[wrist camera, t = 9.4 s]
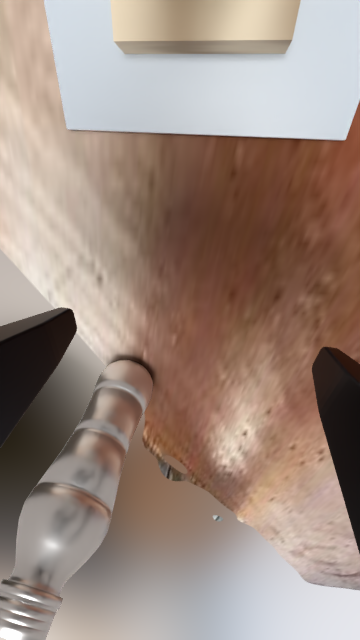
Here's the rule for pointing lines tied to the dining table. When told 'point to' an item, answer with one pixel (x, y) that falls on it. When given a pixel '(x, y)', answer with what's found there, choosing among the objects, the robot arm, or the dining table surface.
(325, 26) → the board
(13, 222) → the dining table surface
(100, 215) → the dining table surface
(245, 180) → the dining table surface
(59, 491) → the plastic bottle
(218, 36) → the foundation slab
